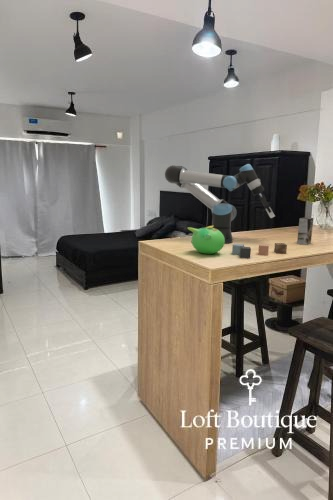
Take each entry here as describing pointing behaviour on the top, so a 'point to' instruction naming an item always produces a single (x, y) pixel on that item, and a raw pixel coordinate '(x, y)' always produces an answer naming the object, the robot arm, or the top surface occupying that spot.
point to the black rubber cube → (245, 252)
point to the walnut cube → (280, 248)
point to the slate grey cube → (236, 248)
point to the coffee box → (305, 231)
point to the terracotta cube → (263, 249)
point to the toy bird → (207, 239)
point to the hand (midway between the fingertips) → (272, 217)
